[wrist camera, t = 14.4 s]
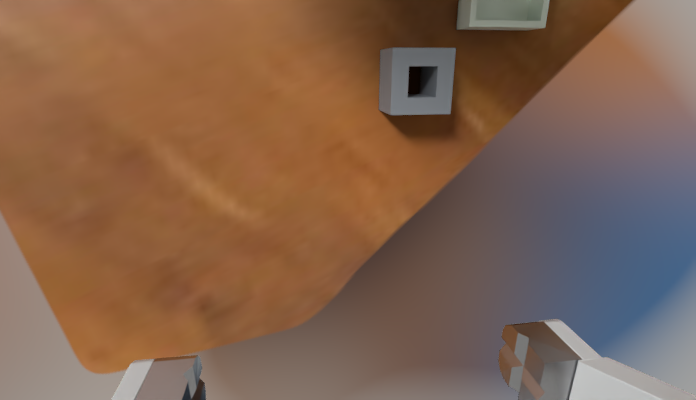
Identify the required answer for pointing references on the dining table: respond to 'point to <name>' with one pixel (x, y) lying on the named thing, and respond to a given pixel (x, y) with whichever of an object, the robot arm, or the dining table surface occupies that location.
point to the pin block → (432, 80)
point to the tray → (502, 14)
